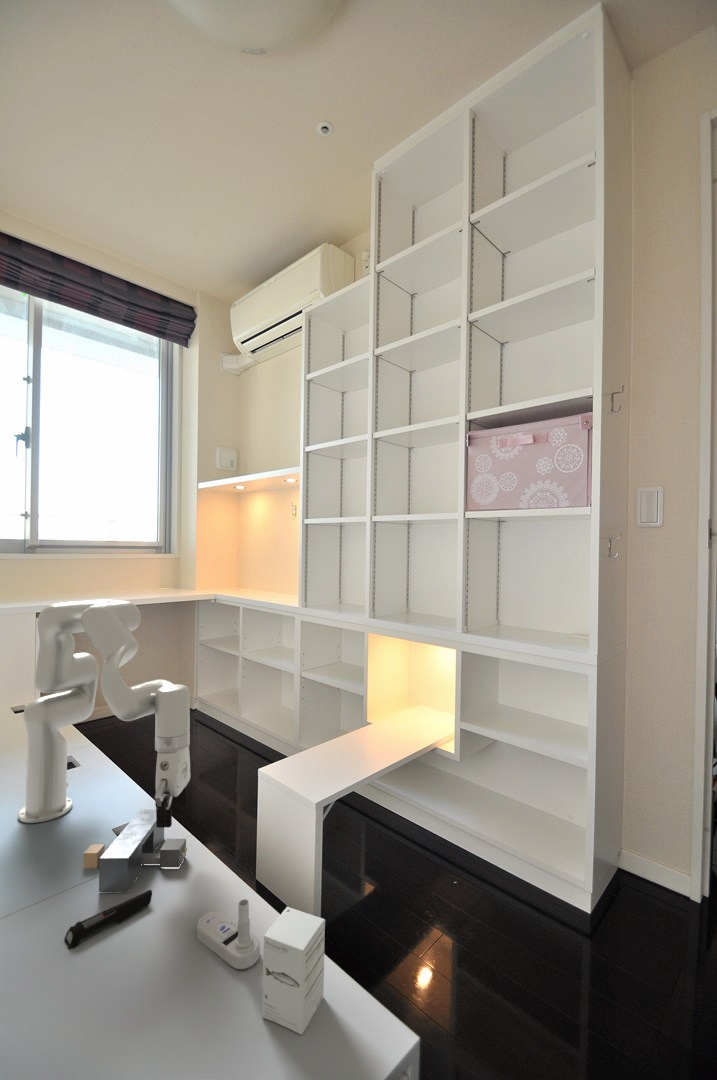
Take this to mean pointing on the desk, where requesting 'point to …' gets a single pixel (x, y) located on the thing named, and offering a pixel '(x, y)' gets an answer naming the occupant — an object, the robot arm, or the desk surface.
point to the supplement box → (293, 969)
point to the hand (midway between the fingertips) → (172, 815)
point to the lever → (144, 854)
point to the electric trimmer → (106, 918)
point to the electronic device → (230, 937)
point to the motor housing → (129, 852)
